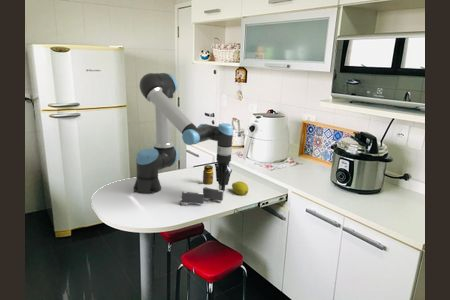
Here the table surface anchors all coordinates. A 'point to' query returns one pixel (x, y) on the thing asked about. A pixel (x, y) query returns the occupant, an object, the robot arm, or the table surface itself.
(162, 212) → the table surface
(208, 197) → the grey lever handle
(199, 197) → the grey lever handle
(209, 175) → the condiment
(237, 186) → the lemon
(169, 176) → the table surface
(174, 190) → the table surface
